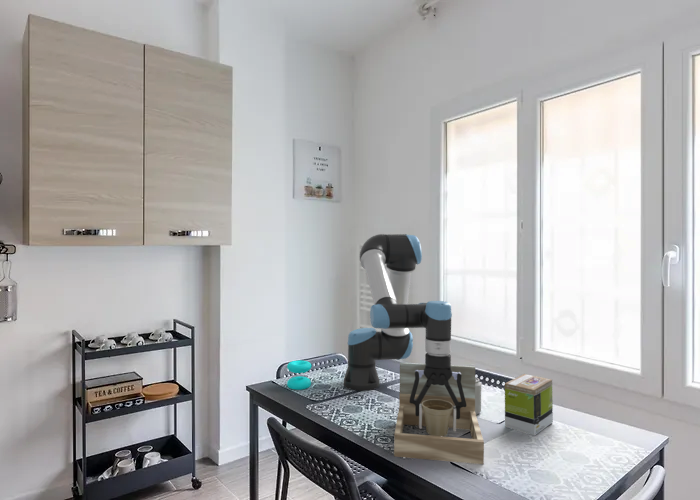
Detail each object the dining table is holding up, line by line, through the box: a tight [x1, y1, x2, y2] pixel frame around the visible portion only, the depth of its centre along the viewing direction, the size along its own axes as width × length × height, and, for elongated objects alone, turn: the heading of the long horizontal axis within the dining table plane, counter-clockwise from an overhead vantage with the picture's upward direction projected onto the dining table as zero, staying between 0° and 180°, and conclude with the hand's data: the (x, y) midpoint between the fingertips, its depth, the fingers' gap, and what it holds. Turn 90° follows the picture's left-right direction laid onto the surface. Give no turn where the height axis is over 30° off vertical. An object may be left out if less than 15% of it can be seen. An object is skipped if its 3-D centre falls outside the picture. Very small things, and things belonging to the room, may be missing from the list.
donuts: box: [286, 359, 312, 391], centre depth 182 cm, size 10×10×10 cm
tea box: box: [504, 373, 554, 436], centre depth 145 cm, size 15×10×15 cm, turn 134°
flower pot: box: [422, 399, 454, 437], centre depth 132 cm, size 9×9×9 cm
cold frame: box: [393, 362, 485, 465], centre depth 132 cm, size 24×24×20 cm
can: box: [475, 376, 482, 416], centre depth 156 cm, size 8×8×12 cm
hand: (437, 427), depth 132 cm, fingers closed on flower pot, 9 cm apart
